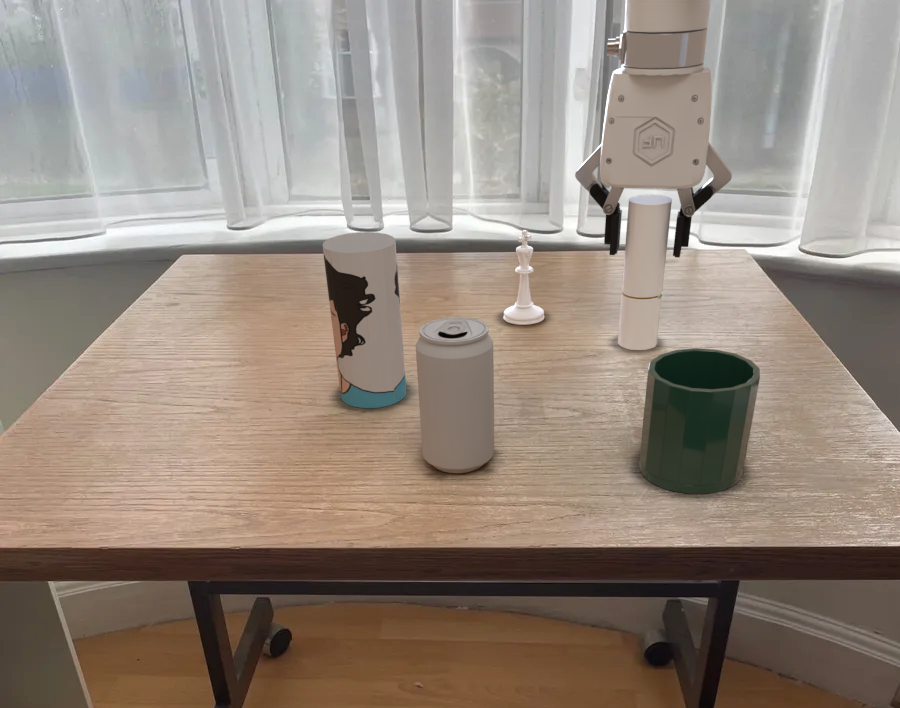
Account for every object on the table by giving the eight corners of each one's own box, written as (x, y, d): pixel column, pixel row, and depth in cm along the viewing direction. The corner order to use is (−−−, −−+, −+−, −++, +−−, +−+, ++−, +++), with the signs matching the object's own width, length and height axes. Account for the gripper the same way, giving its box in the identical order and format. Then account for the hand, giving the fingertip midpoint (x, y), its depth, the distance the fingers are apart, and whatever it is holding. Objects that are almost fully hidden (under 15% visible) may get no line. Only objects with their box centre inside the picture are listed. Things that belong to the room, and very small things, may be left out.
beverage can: (417, 476, 78) (408, 341, 71) (429, 441, 83) (421, 313, 76) (490, 478, 77) (488, 342, 70) (497, 443, 82) (496, 314, 75)
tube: (639, 353, 98) (652, 207, 89) (609, 342, 100) (620, 200, 91) (665, 342, 100) (680, 199, 91) (635, 332, 103) (647, 192, 94)
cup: (391, 375, 95) (379, 228, 86) (417, 399, 91) (406, 245, 82) (331, 389, 93) (312, 239, 84) (354, 413, 88) (337, 257, 79)
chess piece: (494, 318, 108) (494, 231, 102) (523, 307, 111) (524, 222, 105) (524, 328, 105) (525, 239, 99) (553, 317, 108) (555, 229, 102)
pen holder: (742, 449, 79) (759, 351, 74) (741, 498, 73) (760, 395, 67) (643, 441, 81) (653, 345, 76) (634, 488, 75) (644, 387, 69)
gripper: (564, 59, 82) (558, 260, 93) (760, 56, 79) (729, 266, 89) (576, 49, 88) (568, 240, 99) (759, 46, 84) (730, 245, 95)
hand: (645, 250), depth 94 cm, fingers open, 5 cm apart
